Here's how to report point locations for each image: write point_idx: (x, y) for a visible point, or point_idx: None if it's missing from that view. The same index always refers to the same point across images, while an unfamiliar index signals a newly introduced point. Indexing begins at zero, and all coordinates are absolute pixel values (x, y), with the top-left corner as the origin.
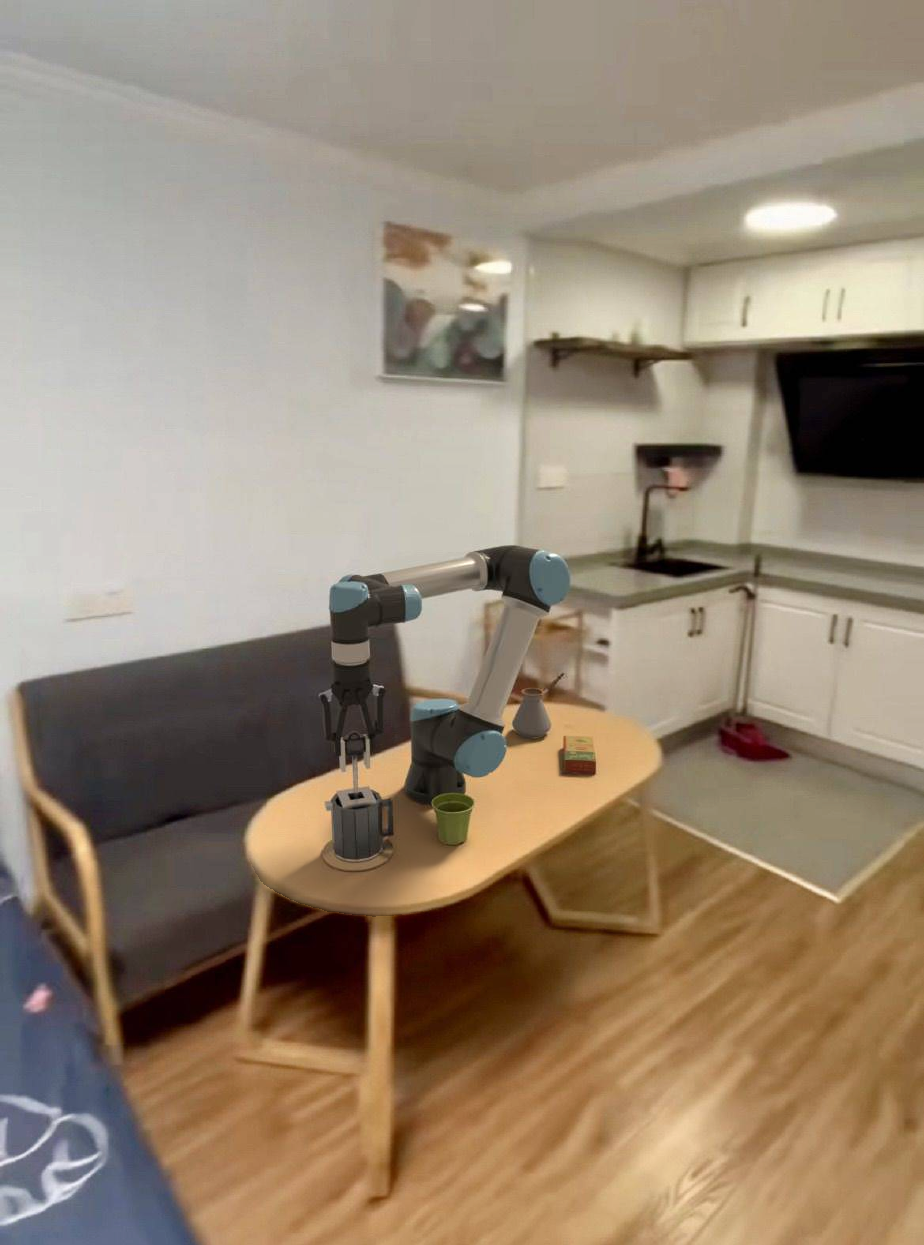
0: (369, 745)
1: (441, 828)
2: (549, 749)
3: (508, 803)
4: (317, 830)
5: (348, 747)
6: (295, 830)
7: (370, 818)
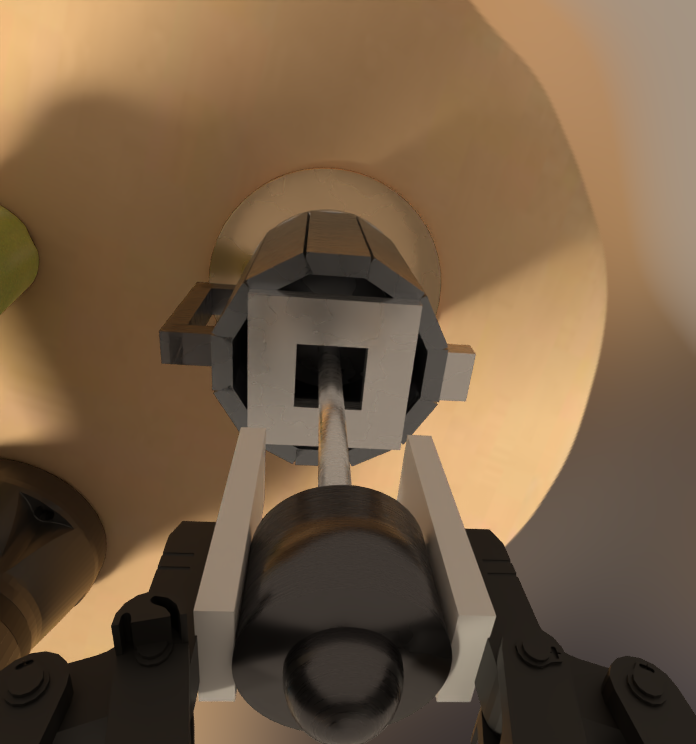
0: (209, 554)
1: (3, 241)
2: None
3: None
4: (402, 446)
5: (417, 560)
6: (458, 465)
7: (293, 245)
